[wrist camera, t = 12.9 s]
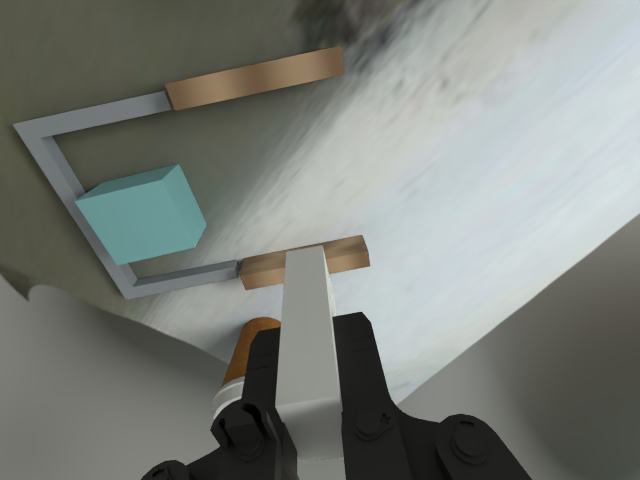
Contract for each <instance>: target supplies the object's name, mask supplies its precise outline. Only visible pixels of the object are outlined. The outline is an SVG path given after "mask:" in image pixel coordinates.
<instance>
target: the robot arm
mask: <svg viewBox="0 0 640 480" xmlns="http://www.w3.org/2000/svg"><path fill="white" fill-rule="evenodd" d="M210 431H211V432H212V434H213V435H214V437H215V438H216V440H217V441H218V443H219V444H220V447H219V448H217V449H216V450H214V451H213V452H211V453H210V454H207V455H206V456H204V457H202V458H200V459H198V460H196V461H194V462H192V463H190V464H188V465H186V466H185V465H184V464H183V463H181V462H179V461H177V460H170V461H164V462H162V463H160V464H158V465H157V466H155V467H153V468H152V469H151V470H150V471H149V472H148V473H147V474H146V475H144V476H143V478H142V479H141V480H299V477H298V476H297V456H298V458H299V460H300V462H301V463H305V462H312V461H318V460H325V459H332V458H338V457H344V464H345V474H346V480H532V479H531V478H530V476H529V475H528V474H527V473H526V471H525V470H524V469H523V467H522V466H521V465H520V464H519V462H518V461H517V459H516V458H515V457H514V456H513V454H512V453H511V452H510V451H509V449H508V448H507V446H506V445H505V444H504V443H503V441H502V440H501V439H500V437H499V436H498V435H497V434H496V432H494V431H493V430H492V428H490V427H489V426H488V425H487V424H486V423H485V422H484V421H482V420H480V419H478V418H476V417H474V416H470V415H464V414H457V415H452V416H449V417H447V418H446V419H444V420H443V421H442V422H440V423H438V422H432V421H427V420H422V419H418V418H414V417H411V416H409V415H407V414H406V413H404V412H402V411H401V410H400V409H399V408H398V407H397V406H396V405H395V404H394V402H393V401H392V400H391V397H390V395H389V392H388V388H387V384H386V380H385V376H384V372H383V369H382V365H381V361H380V357H379V353H378V349H377V345H376V341H375V337H374V333H373V329H372V325H371V322H370V321H369V320H368V318H367V317H366V316H365V315H364V314H363V313H362V312H357V313H352V314H346V315H340V316H336V310H335V302H334V295H333V290H332V286H331V281H330V277H329V272H328V268H327V263H326V259H325V254H324V250H323V245H320V246H315V247H310V248H305V249H299V250H294V251H289V252H286V263H285V277H284V291H283V305H282V318H281V327H278V328H272V329H266V330H261V331H258V332H257V334H256V336H255V337H254V339H253V341H252V342H251V344H250V349H249V355H248V361H247V367H246V373H245V379H244V385H243V390H242V396H241V399H239V400H236V401H233V402H231V403H230V404H229V405H227V406H226V407H225V408H223V409H222V410H221V412H220V413H219V414H218V415H217V417H216V418H215V419H214V422H213V425H212V427H211V429H210Z"/></svg>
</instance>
